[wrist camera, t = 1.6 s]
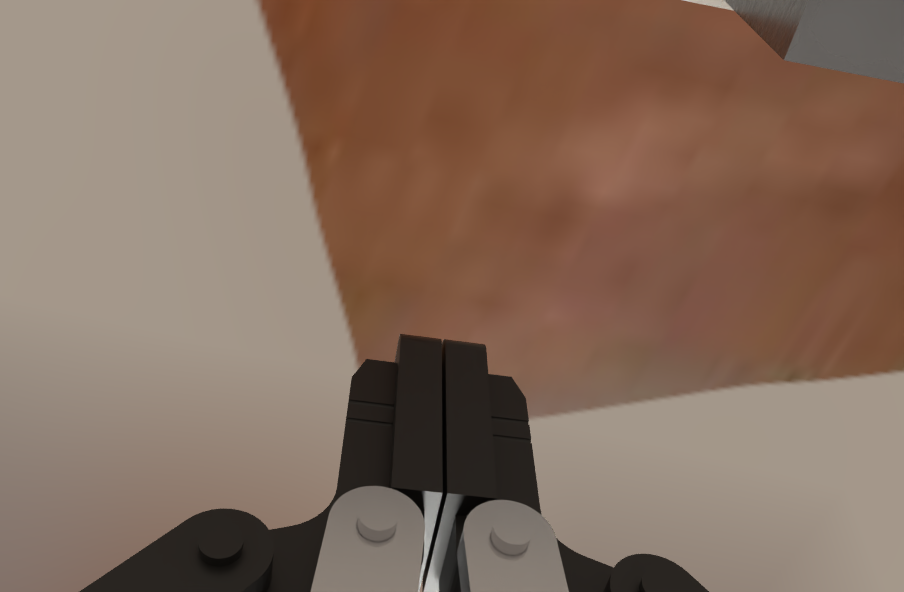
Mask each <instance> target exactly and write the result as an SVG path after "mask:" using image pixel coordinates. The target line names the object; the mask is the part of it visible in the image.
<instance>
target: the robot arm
mask: <svg viewBox="0 0 904 592" xmlns="http://www.w3.org/2000/svg"><path fill="white" fill-rule="evenodd" d="M528 421H529V419H528V412H527V404H526V398H525V396H524V395H523V393H522V392H521V390H520V389H519V387H518V386H517V384H516V383H515V382H514V380H513V379H512V377H508V376H500V375H492V374H488V366H487V353H486V346H485V345H484V344H476V343H469V342H461V341H453V340H445V339H444V340H443V343H442V341H441V339H436V338H429V337H421V336H413V335H405V334H400V336H399V341H398V346H397V352H396V358H395V363H394V362H386V361H378V360H370V359H366V360H365V362H364V363H363V364H362V365H361V367H360V368H359V369H358V370H357V372H356V373H355V374H354V375H353V376H352V380H351V387H350V395H349V403H348V410H347V417H346V424H345V432H344V439H343V447H342V454H341V462H340V469H339V477H338V484H337V490H336V494H335V496H334V498H333V500H332V502H331V503H330V505H329V506H328V507H327V508H326V509H325V510H324V511H323V512H322V513H320V514H319V515H318V516H316V517H315V518H313V519H311V520H309V521H306V522H304V523H301V524H298V525H294V526H289V527H284V528H278V529H272V530H268V528H267V527H266V525H264V523H262V522H261V520H259V519H258V518H256V517H255V516H253V515H251V514H249V513H247V512H243V511H239V510H235V509H214V510H209V511H205V512H202V513H199V514H197V515H194V516H193V517H191V518H189V519H187V520H186V521H184V522H183V523H181V524H180V525H179V526H177V527H175V528H174V529H172V530H171V531H169V532H168V533H167V534H165V535H163V536H162V537H160V538H159V539H158V540H156V541H154V542H153V543H151V544H150V545H148V546H147V547H146V548H144V549H142V550H141V551H139V552H138V553H137V554H135V555H133V556H132V557H130V558H129V559H127V560H126V561H124V562H123V563H122V564H120V565H119V566H117V567H116V568H114V569H113V570H111V571H110V572H108V573H107V574H105V575H104V576H102V577H101V578H99V579H98V580H96V581H95V582H93V583H92V584H90V585H89V586H87V587H86V588H84V589H83V590H81V591H80V592H419V590H420V586H421V582H422V578H423V592H709V591H707V590H706V589H705V588H704V587H703V586H702V585H701V584H700V583H699V582H698V581H697V580H696V579H694V578H693V577H692V576H691V575H690V574H689V573H688V572H687V571H685V570H684V569H683V568H682V567H680V566H679V565H677V564H676V563H674V562H672V561H670V560H668V559H666V558H663V557H660V556H656V555H651V554H635V555H631V556H628V557H626V558H624V559H622V560H621V561H620V562H618V563H617V564H616V566H615V567H614V568H613V567H611V566H608V565H606V564H603V563H600V562H598V561H595V560H593V559H590V558H587V557H585V556H583V555H581V554H578V553H576V552H574V551H573V550H571V549H569V548H568V547H566V546H565V545H564V544H562V543H561V542H560V541H559V540H558V539H557V538H556V536H555V533H554V531H553V529H552V527H551V525H550V524H549V523H548V522H547V520H546V519H545V518H544V517H543V516H542V515H541V510H540V504H539V496H538V488H537V481H536V473H535V466H534V458H533V450H532V444H531V435H530V427H529V425H528Z"/></svg>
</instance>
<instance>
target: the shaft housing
mask: <svg viewBox="0 0 904 592" xmlns="http://www.w3.org/2000/svg"><path fill="white" fill-rule="evenodd" d="M684 1H689V2H694V3H699V4H704V5H709V6H714V7H719V8H724V9H729V10H734V11H735V12H736V13H737V14H738V15H739V16H740V17H741V18H742V19H743V20H744V21H745V22H746V23H747V24H748V25H749V26H750V27H751V28H752V29H753V30H754V31H755V32H756V33H757V34H758V35H759V36H760V37H761V38H762V39H763V40H764V41H765V42H766V43H767V44H768V45H769V46H770V47H771V48H772V49H773V50H774V51H775V52H776V53H777V54H778V55H779V56H780V57H781V58H782V59H783V60H786V61H791V62H796V63H802V64H807V65H812V66H817V67H822V68H827V69H832V70H838V71H843V72H848V73H853V74H858V75H863V76H869V77H874V78H879V79H884V80H889V81H894V82H900V83H904V0H684Z"/></svg>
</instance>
